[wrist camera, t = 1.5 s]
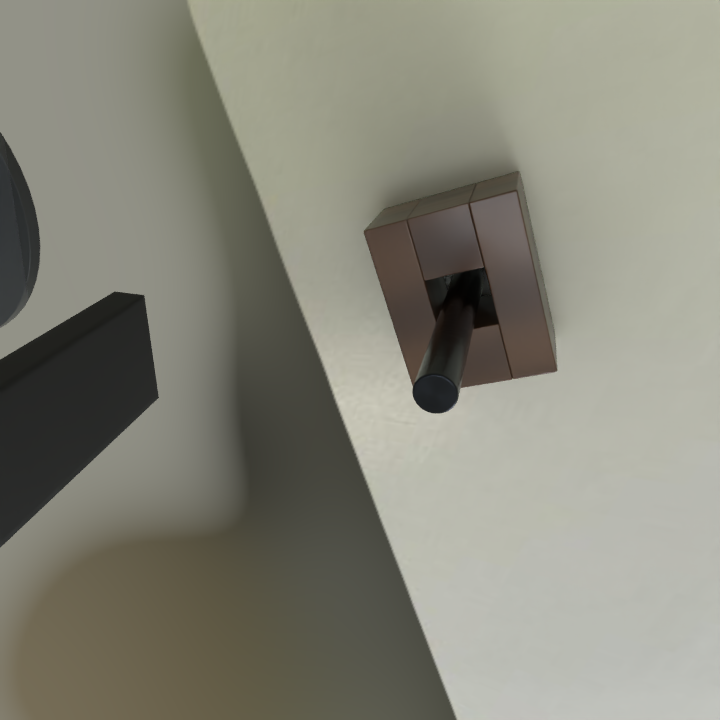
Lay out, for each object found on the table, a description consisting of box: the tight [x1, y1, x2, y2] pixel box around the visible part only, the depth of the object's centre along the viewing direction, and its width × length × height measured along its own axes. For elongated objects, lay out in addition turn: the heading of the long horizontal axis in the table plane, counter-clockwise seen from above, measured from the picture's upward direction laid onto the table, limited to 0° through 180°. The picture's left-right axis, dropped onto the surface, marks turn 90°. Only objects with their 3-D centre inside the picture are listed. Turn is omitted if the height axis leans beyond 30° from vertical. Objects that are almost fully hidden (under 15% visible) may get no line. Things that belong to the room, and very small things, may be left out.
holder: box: [364, 172, 557, 388], centre depth 35 cm, size 10×8×5 cm
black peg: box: [413, 268, 484, 413], centre depth 31 cm, size 2×2×15 cm
